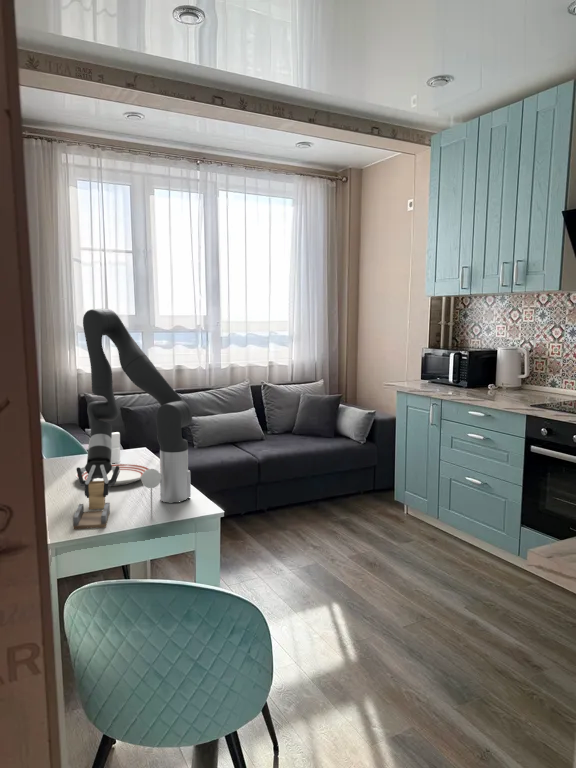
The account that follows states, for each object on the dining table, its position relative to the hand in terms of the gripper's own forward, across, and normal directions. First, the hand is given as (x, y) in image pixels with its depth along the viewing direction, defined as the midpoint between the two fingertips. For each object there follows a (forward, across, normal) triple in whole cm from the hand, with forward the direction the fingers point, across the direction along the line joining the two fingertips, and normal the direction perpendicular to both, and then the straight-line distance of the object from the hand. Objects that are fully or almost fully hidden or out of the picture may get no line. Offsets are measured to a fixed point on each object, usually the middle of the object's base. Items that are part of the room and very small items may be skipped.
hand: (96, 496), depth 177 cm
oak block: (+2, 0, +4) cm, 5 cm away
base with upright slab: (-40, -2, +46) cm, 61 cm away
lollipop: (+10, +17, -4) cm, 20 cm away
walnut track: (+11, 0, -5) cm, 12 cm away
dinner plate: (-20, +3, +27) cm, 34 cm away
